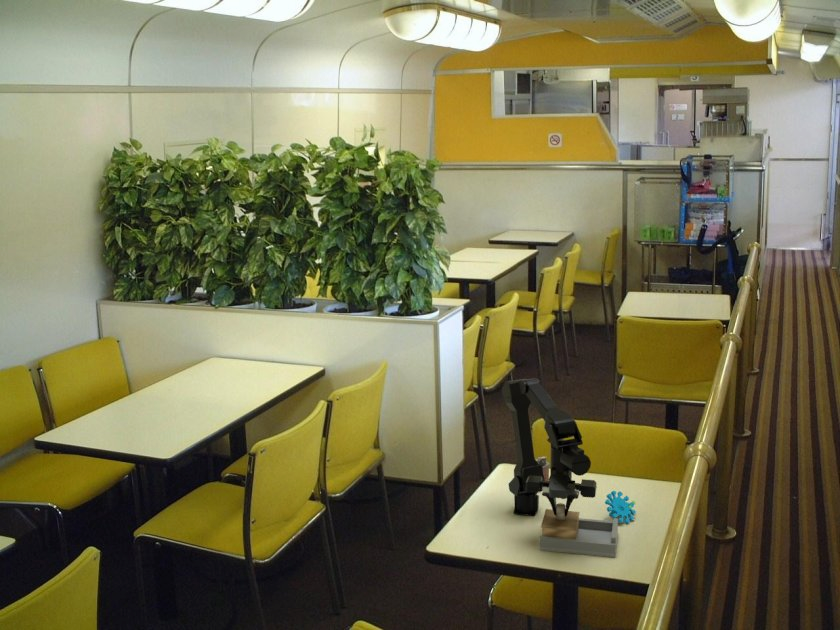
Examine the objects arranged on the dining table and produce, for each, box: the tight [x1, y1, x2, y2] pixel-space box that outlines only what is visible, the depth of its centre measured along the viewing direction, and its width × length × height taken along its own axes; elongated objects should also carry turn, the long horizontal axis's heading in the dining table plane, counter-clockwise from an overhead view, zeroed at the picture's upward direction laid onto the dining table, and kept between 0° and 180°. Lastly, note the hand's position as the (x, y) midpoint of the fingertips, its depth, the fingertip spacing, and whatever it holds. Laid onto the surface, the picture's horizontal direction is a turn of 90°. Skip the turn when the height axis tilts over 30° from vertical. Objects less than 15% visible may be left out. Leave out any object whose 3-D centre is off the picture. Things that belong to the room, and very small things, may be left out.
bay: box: [539, 517, 619, 558], centre depth 250 cm, size 20×14×5 cm
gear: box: [604, 490, 636, 525], centre depth 264 cm, size 11×6×10 cm
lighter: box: [535, 455, 551, 481], centre depth 284 cm, size 8×3×10 cm, turn 134°
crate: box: [540, 502, 580, 539], centre depth 251 cm, size 9×10×9 cm
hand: (560, 515), depth 250 cm, fingers closed on crate, 2 cm apart
